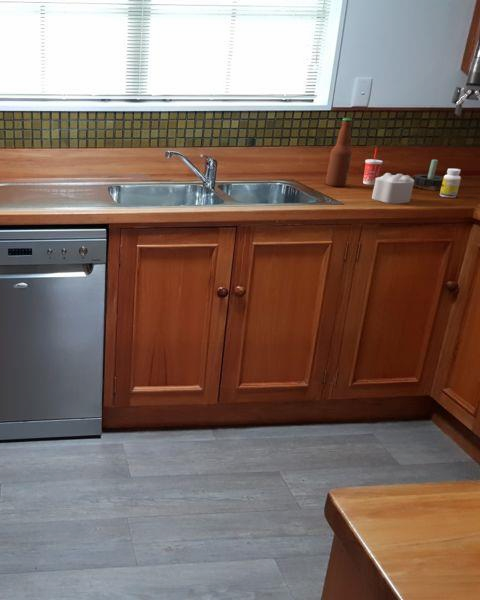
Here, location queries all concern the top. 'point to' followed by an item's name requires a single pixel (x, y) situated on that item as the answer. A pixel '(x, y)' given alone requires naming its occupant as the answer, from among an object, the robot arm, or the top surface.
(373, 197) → the white bumpy block
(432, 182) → the ring
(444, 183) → the supplement bottle
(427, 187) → the stand
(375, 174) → the beverage cup
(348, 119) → the bottle
